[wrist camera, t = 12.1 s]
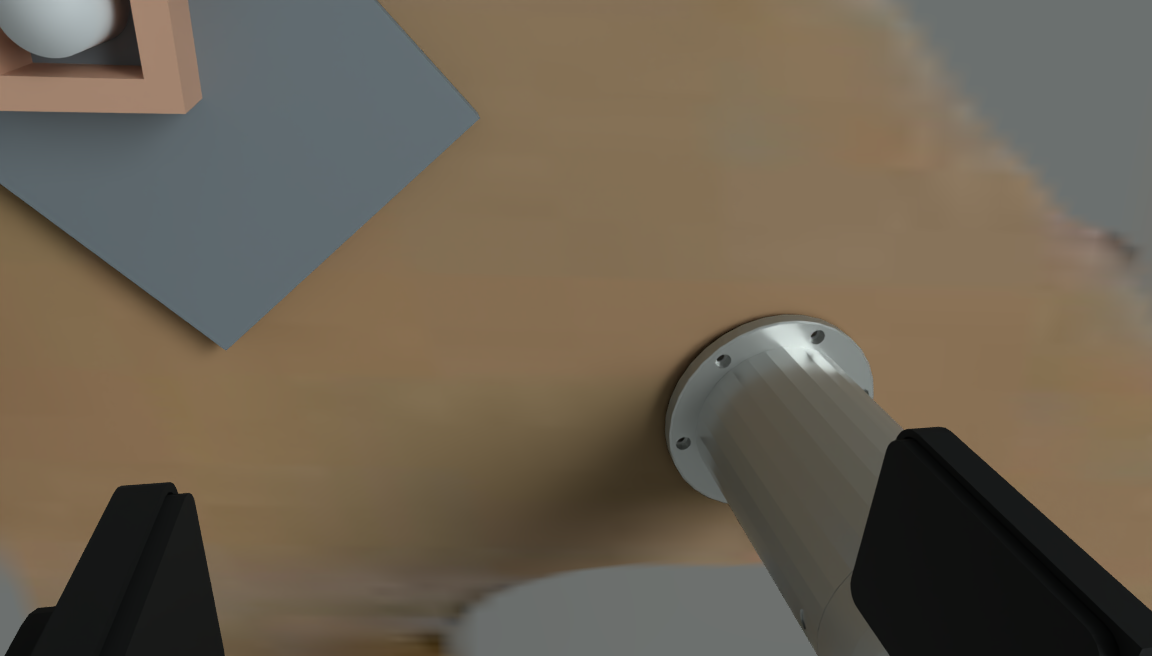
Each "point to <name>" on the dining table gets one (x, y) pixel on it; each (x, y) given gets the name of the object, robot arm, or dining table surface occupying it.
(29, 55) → the square frame with tab
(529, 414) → the dining table surface
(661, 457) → the dining table surface
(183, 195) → the board
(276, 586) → the dining table surface
